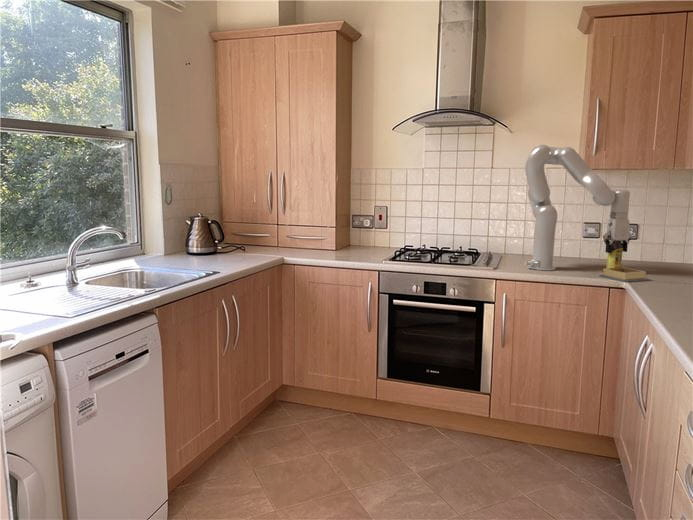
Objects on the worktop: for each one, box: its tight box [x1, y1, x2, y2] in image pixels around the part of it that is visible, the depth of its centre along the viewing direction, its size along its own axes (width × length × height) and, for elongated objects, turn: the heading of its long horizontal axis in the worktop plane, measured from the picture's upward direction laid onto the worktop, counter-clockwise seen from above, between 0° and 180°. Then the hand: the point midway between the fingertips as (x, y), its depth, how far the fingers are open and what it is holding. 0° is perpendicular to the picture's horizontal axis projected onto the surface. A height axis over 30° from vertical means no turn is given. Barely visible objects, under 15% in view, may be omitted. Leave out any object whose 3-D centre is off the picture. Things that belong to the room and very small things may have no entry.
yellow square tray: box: [599, 266, 650, 283], centre depth 237 cm, size 14×14×4 cm
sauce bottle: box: [605, 240, 623, 268], centre depth 250 cm, size 6×6×20 cm
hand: (616, 252), depth 250 cm, fingers open, 9 cm apart
